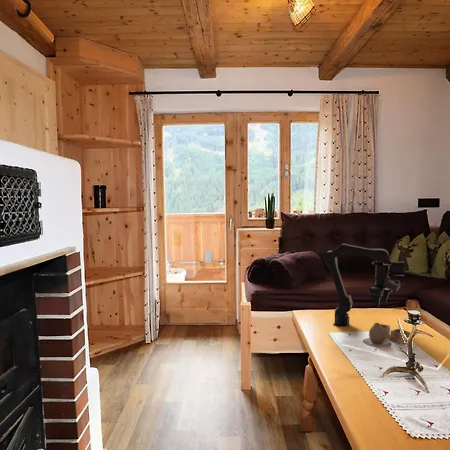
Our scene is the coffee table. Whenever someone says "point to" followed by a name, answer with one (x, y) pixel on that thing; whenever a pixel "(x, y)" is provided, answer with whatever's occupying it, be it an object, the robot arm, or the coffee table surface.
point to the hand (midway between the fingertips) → (381, 305)
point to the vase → (377, 334)
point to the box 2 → (398, 336)
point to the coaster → (383, 345)
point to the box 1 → (386, 330)
